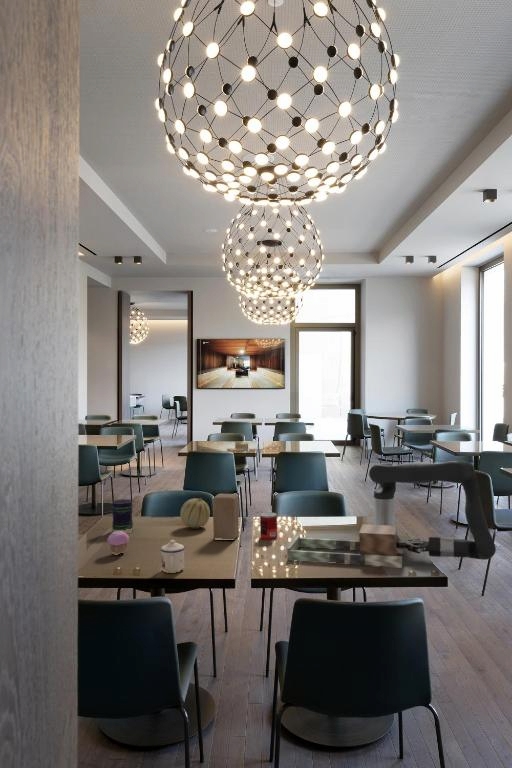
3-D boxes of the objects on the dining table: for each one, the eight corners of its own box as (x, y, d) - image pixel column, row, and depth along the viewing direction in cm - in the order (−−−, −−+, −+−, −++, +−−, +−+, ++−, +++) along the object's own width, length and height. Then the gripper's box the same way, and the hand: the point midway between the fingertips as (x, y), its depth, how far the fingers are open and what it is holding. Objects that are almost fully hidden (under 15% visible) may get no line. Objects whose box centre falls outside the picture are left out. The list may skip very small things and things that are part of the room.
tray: (403, 552, 251) (403, 540, 251) (402, 567, 231) (401, 554, 231) (297, 546, 263) (297, 535, 263) (287, 560, 243) (287, 548, 243)
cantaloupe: (180, 525, 306) (180, 495, 305) (209, 523, 307) (209, 494, 307) (180, 532, 291) (179, 501, 291) (210, 531, 293) (210, 500, 292)
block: (234, 541, 273) (233, 497, 272) (213, 541, 275) (212, 497, 274) (239, 536, 282) (238, 493, 282) (218, 535, 284) (218, 493, 284)
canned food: (279, 536, 281) (278, 512, 281) (274, 540, 273) (273, 516, 273) (263, 535, 283) (263, 511, 283) (258, 539, 276) (257, 515, 276)
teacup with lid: (162, 567, 238) (161, 537, 238) (185, 566, 239) (184, 537, 238) (159, 577, 226) (158, 546, 226) (183, 576, 227) (183, 545, 226)
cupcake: (122, 550, 262) (121, 527, 262) (133, 554, 256) (132, 530, 256) (104, 554, 256) (103, 531, 256) (115, 558, 250) (114, 534, 250)
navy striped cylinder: (110, 530, 296) (110, 500, 296) (130, 528, 301) (129, 498, 300) (114, 535, 287) (114, 504, 287) (135, 533, 292) (134, 502, 291)
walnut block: (397, 554, 249) (396, 525, 249) (395, 565, 235) (395, 534, 235) (362, 552, 252) (362, 524, 252) (359, 562, 239) (359, 532, 239)
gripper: (440, 533, 244) (396, 531, 248) (441, 542, 231) (395, 539, 236) (440, 551, 244) (396, 549, 248) (442, 561, 231) (395, 558, 236)
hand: (396, 544), depth 242 cm, fingers closed
